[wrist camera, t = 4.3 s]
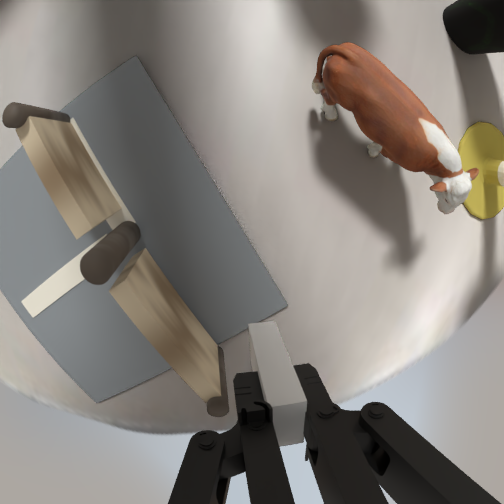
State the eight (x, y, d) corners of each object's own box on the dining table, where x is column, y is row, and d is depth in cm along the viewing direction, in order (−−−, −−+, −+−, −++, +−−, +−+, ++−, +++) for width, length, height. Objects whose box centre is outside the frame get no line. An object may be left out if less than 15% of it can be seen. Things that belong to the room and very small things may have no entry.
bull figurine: (399, 208, 24) (465, 233, 16) (284, 84, 20) (323, 50, 12) (428, 172, 23) (497, 185, 16) (321, 49, 19) (372, 9, 12)
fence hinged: (131, 257, 21) (104, 296, 15) (146, 246, 21) (123, 284, 15) (212, 361, 25) (215, 419, 18) (226, 354, 25) (233, 411, 18)
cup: (495, 59, 20) (579, 50, 9) (457, 69, 21) (556, 55, 9) (464, -4, 18) (541, -30, 7) (422, -2, 18) (508, -42, 7)
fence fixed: (49, 122, 18) (-7, 116, 11) (67, 107, 18) (14, 93, 11) (125, 250, 21) (93, 291, 15) (145, 236, 21) (118, 274, 15)
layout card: (-38, 218, 19) (-41, 219, 18) (137, 56, 18) (135, 54, 17) (97, 400, 26) (96, 404, 25) (286, 303, 25) (288, 305, 24)
